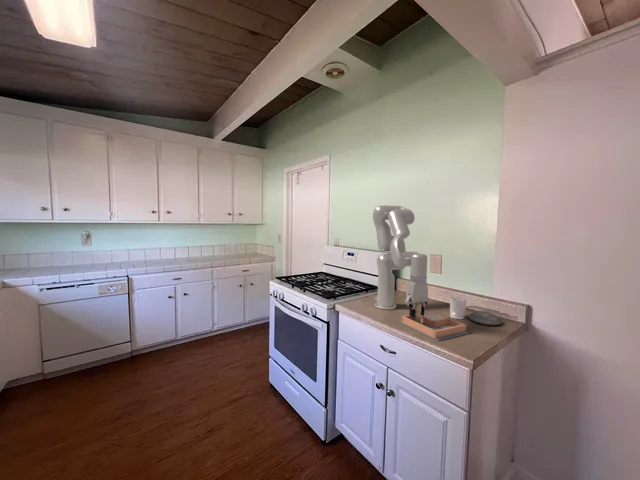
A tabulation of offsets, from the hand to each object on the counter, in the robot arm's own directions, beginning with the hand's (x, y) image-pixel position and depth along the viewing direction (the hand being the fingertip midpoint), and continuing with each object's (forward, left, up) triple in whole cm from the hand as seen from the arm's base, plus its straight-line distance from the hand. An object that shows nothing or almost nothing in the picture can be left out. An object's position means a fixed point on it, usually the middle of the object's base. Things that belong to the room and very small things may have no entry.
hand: (416, 315), depth 137 cm
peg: (0, 0, -4) cm, 4 cm away
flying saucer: (+10, +37, -5) cm, 39 cm away
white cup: (0, +29, -5) cm, 29 cm away
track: (+6, +5, -5) cm, 9 cm away
